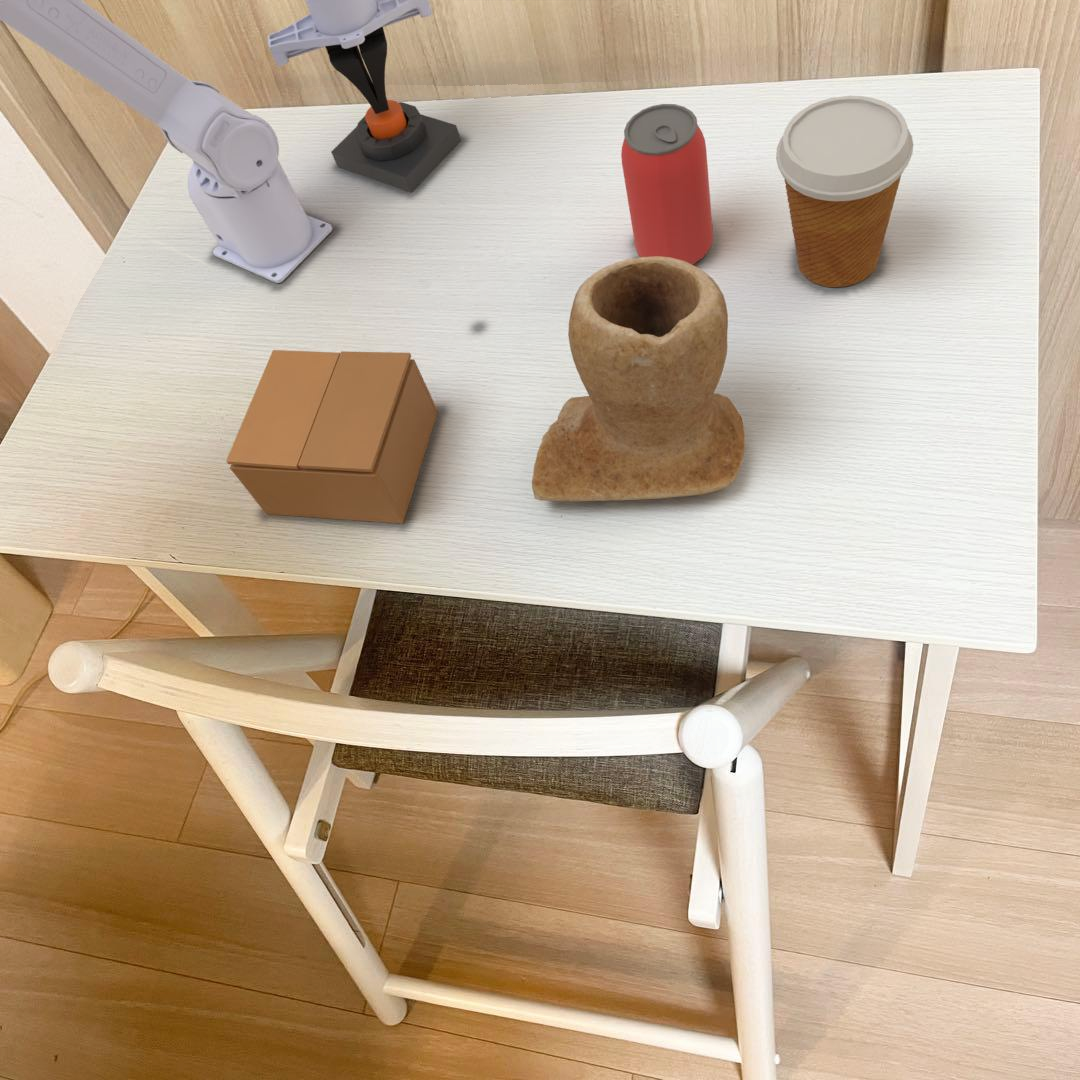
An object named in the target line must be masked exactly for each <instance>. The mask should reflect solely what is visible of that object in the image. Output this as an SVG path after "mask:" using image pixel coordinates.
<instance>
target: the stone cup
mask: <svg viewBox="0 0 1080 1080" xmlns="http://www.w3.org/2000/svg"><path fill="white" fill-rule="evenodd" d="M728 327H729V314H728V309H727V303H726V299H725V296H724V293H723V291H722V290H721V288H720V286H719V285H718V284H717V282H716V281H715V280H714V278H713V277H711V276H710V275H709V274H707V273H706V272H705V271H704V270H703V269H701V268H699V267H698V266H696V265H695V264H693V265H692V264H690V263H688V262H686V261H682V260H678V259H674V258H670V257H661V256H654V257H639V256H638V257H633V258H628V259H623V260H620V261H617V262H614V263H612V264H609V265H607V266H605V267H602V268H600V269H598V270H597V271H596V272H594V273H593V274H592V275H590V276H589V277H587V278H586V279H585V280H584V282H583V283H582V284H581V285H580V286H579V287H578V290H577V291H576V293H575V295H574V298H573V302H572V306H571V310H570V315H569V320H568V331H567V335H568V342H569V349H570V352H571V353H570V354H571V356H572V360H573V363H574V366H575V369H576V371H577V374H578V376H579V378H580V380H581V383H582V384H583V387H584V389H585V391H586V392H587V394H588V395H585V396H574V397H570V398H569V399H567V401H566V402H564V403H563V405H562V408H561V410H560V411H559V414H558V415H557V419H556V420H555V421H554V422H553V423H552V424H551V425H550V426H549V427H548V429H547V431H546V432H545V433H544V434H543V435H542V439H541V442H540V444H539V448H538V451H537V454H536V459H535V461H534V465H533V472H532V478H531V480H532V481H531V489H532V493H533V497H534V499H535V500H537V501H539V502H540V501H541V502H542V501H543V502H602V501H603V502H605V501H607V502H609V501H634V500H656V499H669V498H680V497H689V496H699V495H706V494H710V493H714V492H717V491H721V490H724V489H726V488H727V487H729V486H731V485H732V484H733V483H734V482H735V480H736V479H737V477H738V475H739V473H740V470H741V467H742V465H743V461H744V456H745V451H746V435H745V434H746V432H745V428H744V422H743V418H742V416H741V414H740V412H739V411H738V409H737V408H736V406H735V405H734V403H733V402H732V401H731V399H730V398H729V397H727V396H725V395H722V394H719V393H715V391H716V389H717V387H718V385H719V383H720V380H721V377H722V374H723V371H724V368H725V364H726V359H727V355H728V329H729V328H728Z"/></svg>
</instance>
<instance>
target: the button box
mask: <svg viewBox="0 0 1080 1080" xmlns="http://www.w3.org/2000/svg"><path fill="white" fill-rule="evenodd" d="M397 102H398V101H397ZM398 103H399V104H400V105H401V108H402V110H403V113H404V116H405V119H406V122H407V125H406V128H405V129H404V130H403V131H402V132H401V133H400V134H398V135H396V136H394V137H392V138H387V139H376V138H374V137H373V136H372V134H371V132H370V129H369V127H368V124H367V122H366V119H365V115H364V116H363V117H362V118H361V119H360V120H359V121H358V122H357V125H356V127H355V128H354V129H353V130H352V131H351V132H349V133H348V135H346V136H345V137H344V138H343V139H342V140H341V141H340V142H339V144H337V145H336V146H335V147H334V148H333V149H332V150H331V151H330V153H331V155H332V157H333V160H334V162H335V164H336V166H337V168H339V169H342V170H344V171H345V170H346V171H348V172H351V173H354V174H356V175H359V176H362V177H365V178H368V179H371V180H374V181H376V182H380V183H382V184H385V185H387V186H391V187H393V188H396V189H399V190H402V191H404V192H407V193H411V194H412V193H413V192H414V191H416V189H417V188H418V187H419V186H420V185H421V184H422V182H423V181H425V180H426V178H428V177H429V175H430V174H431V173H432V172H433V171H434V170H435V169H436V168H438V166H439V165H440V164H441V163H442V162H443V161H444V159H445V158H447V156H449V154H451V152H452V151H453V150H455V148H456V147H457V146H459V144H460V143H461V142H462V138H461V136H460V135H461V134H460V132H459V130H458V126H457V124H454V123H451V122H447V121H444V120H441V119H437V118H434V117H431V116H429V115H424V114H421V113H420V111H419V109H418V108H417V107H416V106H415V105H413V104H410V103H405V102H402V101H400V102H398Z"/></svg>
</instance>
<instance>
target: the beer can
mask: <svg viewBox="0 0 1080 1080" xmlns="http://www.w3.org/2000/svg"><path fill="white" fill-rule="evenodd" d="M623 136H624V139H623V142H622V145H621V153H620V156H621V157H620V158H621V167H622V173H623V177H624V184H625V191H626V197H627V201H628V202H627V203H628V204H627V205H628V209H629V217H630V223H631V229H632V235H633V240H634V246H635V251H636V253H637V255H638V257H654V256H661V257H670V258H674V259H678V260H682V261H686V262H688V263H690V264H692V265H695V264H696V263H697V262H698V261H700V260H702V259H704V257H705V256H706V254H707V253H708V252H709V251H710V249H711V247H712V245H713V241H714V233H713V218H712V205H711V193H710V191H711V190H710V179H709V167H708V155H707V144H706V138H705V136H704V133H703V131H702V130H701V127H700V126H699V125H698V119H697V116H696V115H695V114H694V112H693V111H692V110H691V109H689V108H687V107H686V106H683V105H679V104H675V103H660V104H655V105H651V106H648V107H645V108H643V109H641V110H640V111H638V112H637V113H635V114H634V115H632V117H631V118H630V119H629V120H628V121H627V122H626V125H625V128H624V130H623Z"/></svg>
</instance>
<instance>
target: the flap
mask: <svg viewBox="0 0 1080 1080" xmlns="http://www.w3.org/2000/svg"><path fill="white" fill-rule="evenodd" d="M340 353H341V352H333V351H332V352H331V351H309V350H285V349H283V350H282V349H272V351H271V353H270V356H269V359H268V361H267V363H266V366H265V368H264V369H263V370H264V371H263V372H262V375H261V377H260V380H259V382H258V384H257V387H256V390H255V392H254V394H253V396H252V399H251V401H250V404H249V406H248V407H247V411H246V412H245V415H244V418H243V420H242V422H241V424H240V427H239V429H238V432H237V434H236V437H235V439H234V441H233V444H232V446H231V448H230V451H229V453H228V455H227V458H226V461H225V463H227V465H231V464H233V465H247V466H261V467H274V468H288V469H299V466H298V463H299V461H300V458H301V456H302V453H303V450H304V448H305V445H306V442H307V440H308V437H309V435H310V432H311V429H312V427H313V424H314V421H315V419H316V416H317V413H318V411H319V408H320V406H321V403H322V400H323V398H324V395H325V392H326V390H327V387H328V385H329V382H330V379H331V377H332V374H333V371H334V369H335V366H336V364H337V361H338V358H339V356H340Z"/></svg>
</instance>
